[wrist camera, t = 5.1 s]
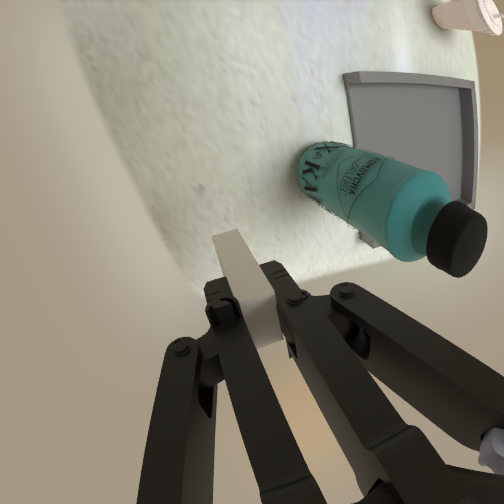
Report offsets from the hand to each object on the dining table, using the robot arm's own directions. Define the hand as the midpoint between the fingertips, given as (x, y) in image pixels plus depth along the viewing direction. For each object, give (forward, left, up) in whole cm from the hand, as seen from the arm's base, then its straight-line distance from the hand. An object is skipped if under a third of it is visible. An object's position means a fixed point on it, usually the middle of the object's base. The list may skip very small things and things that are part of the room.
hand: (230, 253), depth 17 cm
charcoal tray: (0, +28, -12) cm, 31 cm away
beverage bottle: (0, +12, -13) cm, 17 cm away
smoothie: (-20, +37, -13) cm, 44 cm away
